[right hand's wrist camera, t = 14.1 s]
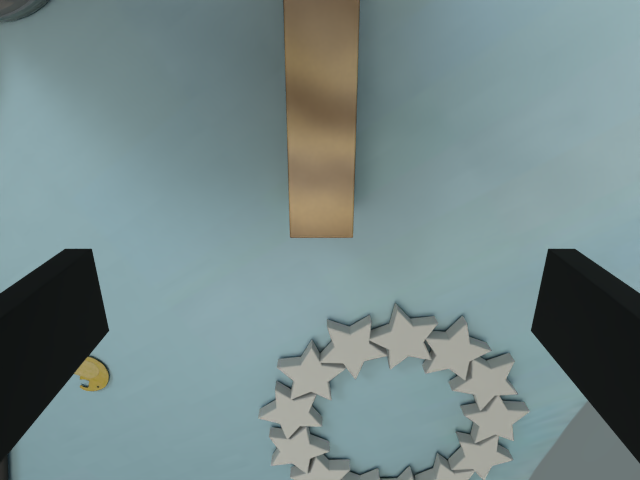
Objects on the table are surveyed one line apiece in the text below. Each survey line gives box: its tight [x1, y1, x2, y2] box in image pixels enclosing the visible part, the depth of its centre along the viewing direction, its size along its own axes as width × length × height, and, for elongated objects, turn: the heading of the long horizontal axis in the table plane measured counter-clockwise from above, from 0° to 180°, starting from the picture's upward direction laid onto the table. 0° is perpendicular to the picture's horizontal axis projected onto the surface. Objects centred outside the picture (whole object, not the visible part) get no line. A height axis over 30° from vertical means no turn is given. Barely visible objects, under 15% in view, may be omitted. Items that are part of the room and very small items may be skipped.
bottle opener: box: [74, 357, 109, 391], centre depth 46 cm, size 5×1×20 cm
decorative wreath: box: [258, 303, 530, 480], centre depth 48 cm, size 30×2×30 cm
